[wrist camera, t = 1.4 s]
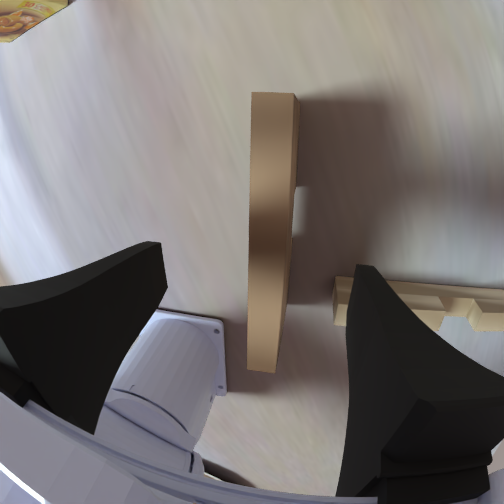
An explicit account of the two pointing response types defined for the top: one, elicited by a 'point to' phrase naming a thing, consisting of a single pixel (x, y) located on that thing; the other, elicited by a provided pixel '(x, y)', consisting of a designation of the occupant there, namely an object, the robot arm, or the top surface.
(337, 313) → the birch board
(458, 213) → the top surface
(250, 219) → the wooden plank
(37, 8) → the candy box
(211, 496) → the robot arm
